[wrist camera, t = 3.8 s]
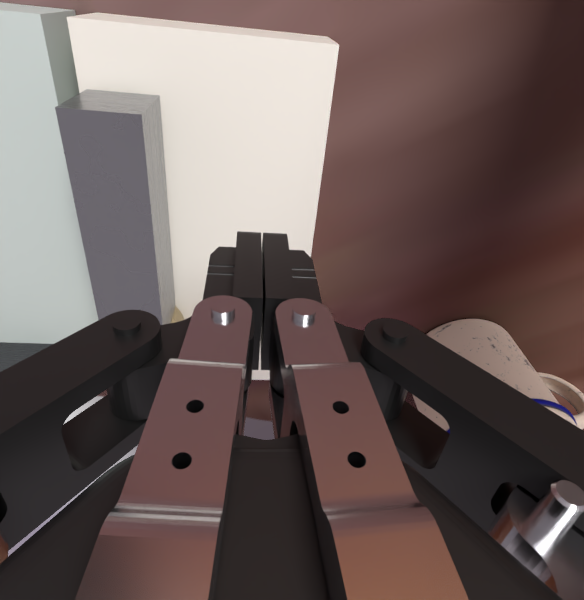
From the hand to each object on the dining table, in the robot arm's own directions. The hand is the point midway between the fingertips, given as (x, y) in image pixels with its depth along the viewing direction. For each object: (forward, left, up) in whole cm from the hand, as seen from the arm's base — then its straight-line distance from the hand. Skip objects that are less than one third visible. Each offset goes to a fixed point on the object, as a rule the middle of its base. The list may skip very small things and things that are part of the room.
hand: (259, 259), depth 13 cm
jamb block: (+5, -2, -14) cm, 14 cm away
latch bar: (+5, -6, -9) cm, 12 cm away
